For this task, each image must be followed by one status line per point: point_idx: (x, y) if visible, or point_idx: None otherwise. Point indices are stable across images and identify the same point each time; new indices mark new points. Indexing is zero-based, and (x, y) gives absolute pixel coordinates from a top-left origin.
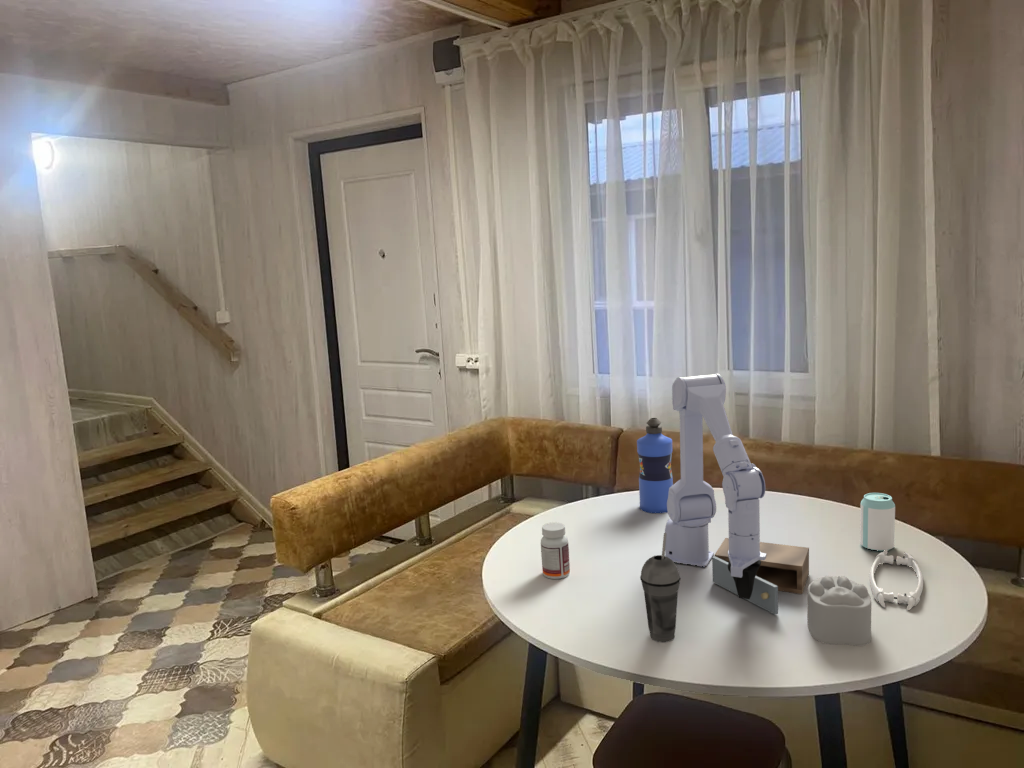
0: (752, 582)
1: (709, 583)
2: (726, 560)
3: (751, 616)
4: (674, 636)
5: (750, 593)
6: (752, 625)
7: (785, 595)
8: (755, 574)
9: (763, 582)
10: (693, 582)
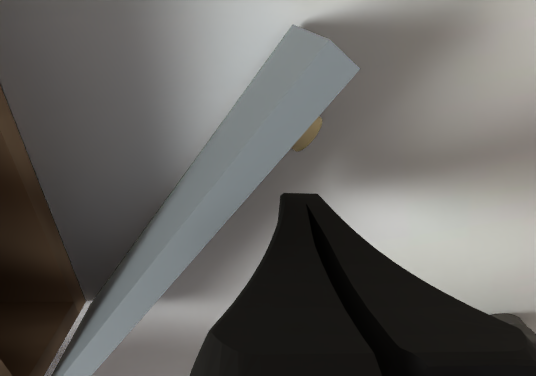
0: (384, 256)
1: None
2: (5, 370)
3: (333, 146)
4: (497, 315)
5: (330, 209)
6: (417, 130)
7: (22, 8)
8: (326, 282)
9: (263, 175)
10: (133, 342)
